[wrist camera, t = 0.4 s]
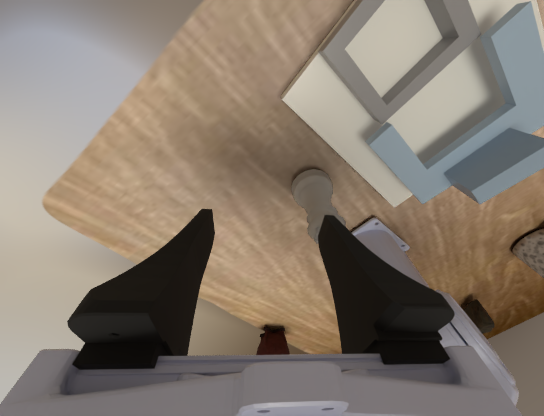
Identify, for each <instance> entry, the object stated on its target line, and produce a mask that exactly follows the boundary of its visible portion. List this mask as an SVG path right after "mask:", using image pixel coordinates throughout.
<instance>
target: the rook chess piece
mask: <svg viewBox="0 0 544 416" xmlns="http://www.w3.org/2000/svg"><path fill="white" fill-rule="evenodd" d="M291 190H292V195H293V197H294V199H295V201H296V202H297V204H298V205H300V206H301V207H302V208H304V209H305V210H306V212H307V214H308V215H307V222H308V223H309V226H308V228H307V230H308V234H309V236H310V237H311V238H312V239H314V241H315V242H316V243H317V244H318V234H319V231H320V228H321V225H322V222H323V219H324V215H334V216H335V217H336V218H337V219H338V220H339V221H340V222H341V223H342V224H343V225H344V226H345V224H346V222H345V220H344V218H343V217H341V216H340V215H338V214H337V210H336V208H335V207H333V206H332V203H331V197H332V194H333V185H332V183H331V180H330V178H329V176H328V174H326V173H325V172H323V171H321V170H316V169H312V170H307V171H304V172H303V173H301V174H299V175H298V176H297V177H296V178H295V180H294V181H293V183H292V187H291Z"/></svg>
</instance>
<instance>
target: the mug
mask: <svg viewBox="0 0 544 416" xmlns="http://www.w3.org/2000/svg"><path fill="white" fill-rule="evenodd" d="M513 254H514V255H516V256H517V257H518V258H519V259H521V260H522V261H523V262H524V263H526V264H527V265H528V266H529V267H531V268H532V269H533V270H534V271H536V272H537V273H538V274H539V275H541V276H542V277H543V278H544V229H540V230H538V231H536V232H533V233H531V234H529V235H528V236H526V237H524V238H523V239H522V240H520V241H519V242H518V243H517V244H516V245H515V246H514V248H513Z"/></svg>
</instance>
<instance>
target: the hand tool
mask: <svg viewBox="0 0 544 416" xmlns="http://www.w3.org/2000/svg"><path fill="white" fill-rule="evenodd" d="M464 312H465V313H466V314H467V315H468V317H469V318H470V319H471V320H472V322H473V323H474V324H475V325H476V327H477V328H478V329H479V330H480V332H481V333H482V334H483V333H486V332H490V331H491V330H492V328H494V322H493V321H492V319H491V318H490V316H489V315H488V313H487V311H486V310H485V309H484V308H483V306H482V305H481V304H480V302H479V301H478V300H477V299H476V300H474V301H472V302H471V303H469V304H468V306H467V307H466V308H465V309H464Z"/></svg>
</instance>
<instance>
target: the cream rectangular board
mask: <svg viewBox="0 0 544 416" xmlns="http://www.w3.org/2000/svg"><path fill="white" fill-rule="evenodd" d="M529 1H531V3H532V7H533V11H534V15H535V19H536V23H537V27H538V31H539V35H540V39H541V43H542V47H543V51H544V30H543V25H542V21H541V17H540V13H539V8H538V4H537V0H354V1H353V2H352V4H351V5H350V6H349V8H348V9H347V10H346V12H345V13H344V14H343V15H342V17H341V18H340V19H339V21H338V22H337V23H336V25H335V26H334V27H333V29H332V30H331V31H330V32H329V34H328V35H327V36H326V38H325V39H324V40H323V42H322V43H321V44H320V46H319V47H318V48H317V49H316V51H315V52H314V53H313V55H312V56H311V57H310V59H309V60H308V61H307V63H306V64H305V65H304V66H303V68H302V69H301V70H300V72H299V73H298V74H297V76H296V77H295V78H294V80H293V81H292V82H291V83H290V85H289V86H288V87H287V89H286V90H285V91H284V93H283V94H282V95H281V98H282V100H283V101H284V102H285V103H286V104H287V105H288V106H289V107H290V108H291V109H292V110H293V111H294V112H295V113H296V114H297V115H299V116H300V117H301V118H302V119H303V120H304V121H305V122H306V123H307V124H308V125H309V126H310V127H311V128H312V129H313V130H314V131H315V132H316V133H317V134H318V135H319V136H320V137H321V138H322V139H324V140H325V141H326V142H327V143H328V144H329V145H330V146H331V147H332V148H333V149H334V150H335V151H336V152H337V153H338V154H339V155H340V156H341V157H342V158H343V159H344V160H345V161H346V162H347V163H348V164H350V165H351V166H352V167H353V168H354V169H355V170H356V171H357V172H358V173H359V174H360V175H361V176H362V177H363V178H364V179H365V180H366V181H367V182H368V183H369V184H370V185H371V186H372V187H373V188H375V189H376V190H377V191H378V192H379V193H380V194H381V195H382V196H383V197H384V198H385V199H386V200H387V201H388V202H389V203H390V204H391V205H392V206H393V207H394V208H395V207H396V206H398V205H399V204H400V203H402V202H403V201H405V200H406V199H408V198H409V197H411V196H412V195H413V194H412V193H411V191H410V190H409V189H408V188H407V187H406V186H405V185H404V184H403V183H402V182H401V181H400V179H399V178H398V177H397V176H396V175H395V174H394V173H393V172H392V171H391V170H390V168H389V167H388V166H387V165H386V164H385V163H384V162H383V161H382V160H381V159H380V157H379V156H378V155H377V154H376V153H375V152H374V151H373V150H372V149H371V148H370V146H369V145H368V144H367V143H366V142H365V141H366V140H367V139H368V138H370V137H371V136H372V135H373V134H374V133H375V132H376V131H377V130H378V129H379V128H381V127H382V126H383V125H384V124H385V123H386V122H388V123H390V124H392V125H393V127H394V128H395V129H396V130H397V132H398V133H399V134H400V136H401V137H402V138H403V139H404V141H405V142H406V143H407V145H408V146H409V147H410V148H411V150H412V151H413V152H414V154H415V155H416V156H417V157H418V159H419V160H420V161H421V163H422V164H424V163H425V162H427V161H428V160H430V159H431V158H432V157H434V156H435V155H436V154H438V153H439V152H440V151H442V150H443V149H444V148H446V147H447V146H448V145H450V144H451V143H453V142H454V141H455V140H457V139H458V138H459V137H461V136H462V135H463V134H465V133H466V132H467V131H469V130H470V129H471V128H473V127H474V126H476V125H477V124H478V123H480V122H481V121H482V120H484V119H485V118H486V117H488V116H489V115H490V114H492V113H493V112H494V111H496V110H497V109H499V108H500V107H501V106H503V105H504V104H505V100H504V97H503V95H502V92H501V90H500V87H499V85H498V82H497V80H496V77H495V75H494V72H493V70H492V67H491V65H490V62H489V60H488V57H487V55H486V52H485V50H484V47H483V44H482V42H481V39H480V37H481V36H482V35H483V34H484V33H485V32H486V31H487V30H489V29H490V28H491V27H492V26H493V25H494V24H495V23H496V22H497V21H498V20H500V19H501V18H502V17H503V16H504V15H505V14H506V13H507V12H508V11H509V10H511V9H512V8H513V7H514V6H515V5H516V4H519V3H524V2H529Z"/></svg>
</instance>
